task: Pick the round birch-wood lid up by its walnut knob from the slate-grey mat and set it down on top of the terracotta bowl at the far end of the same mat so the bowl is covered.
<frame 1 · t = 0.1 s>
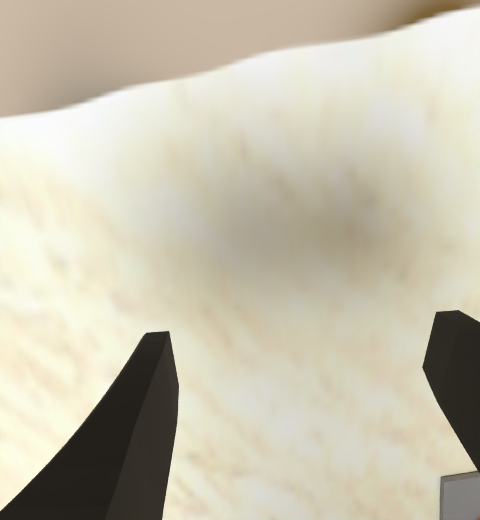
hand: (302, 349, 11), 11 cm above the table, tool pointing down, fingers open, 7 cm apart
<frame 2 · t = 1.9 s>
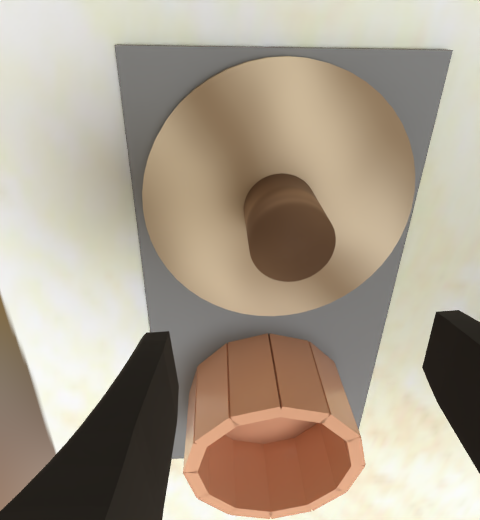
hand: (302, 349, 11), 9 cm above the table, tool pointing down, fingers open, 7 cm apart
bowl: (264, 391, 25), resting on mat
lid: (277, 201, 18), resting on mat
mat: (269, 306, 22), on the table
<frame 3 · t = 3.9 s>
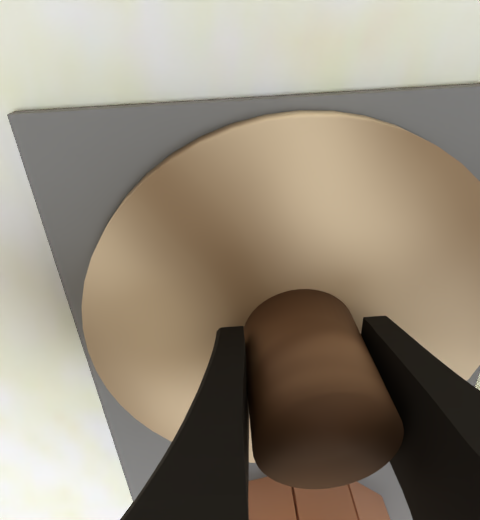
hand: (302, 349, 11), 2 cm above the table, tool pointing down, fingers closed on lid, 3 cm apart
lid: (293, 317, 12), resting on mat, touching gripper
mat: (288, 437, 16), on the table
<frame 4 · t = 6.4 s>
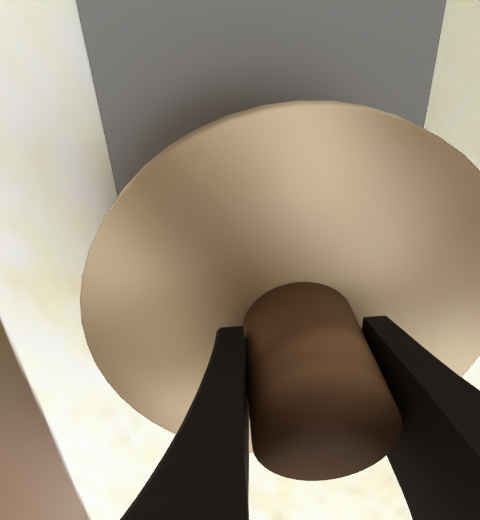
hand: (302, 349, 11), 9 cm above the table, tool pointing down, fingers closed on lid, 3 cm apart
lid: (293, 310, 12), point 7 cm above the table, touching gripper
mat: (264, 69, 15), on the table
when the fingers open (8 cm above the table, at t = 7.3 s): lid drops 1 cm, resting on bowl.
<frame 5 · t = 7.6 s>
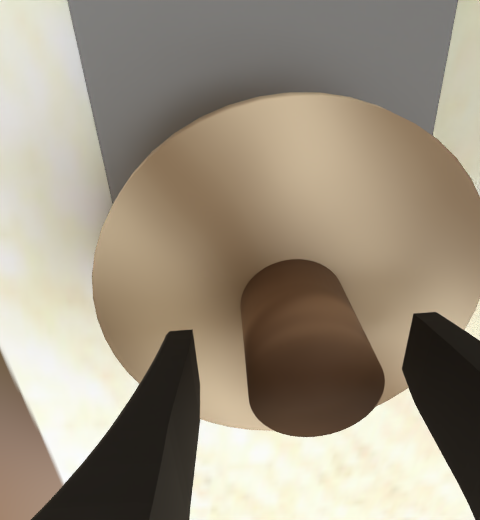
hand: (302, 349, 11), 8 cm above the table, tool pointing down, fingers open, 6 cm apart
lid: (287, 289, 13), point 5 cm above the table, touching bowl
mat: (266, 72, 15), on the table
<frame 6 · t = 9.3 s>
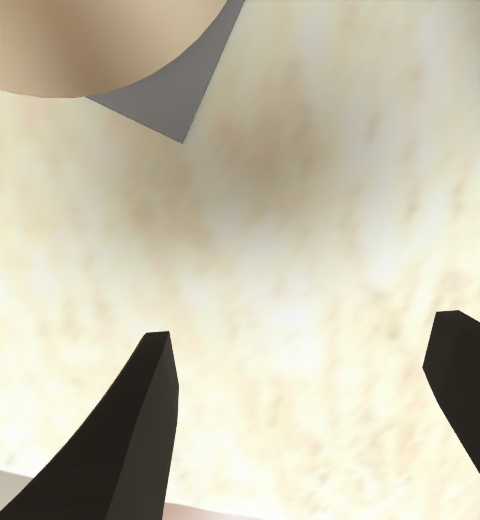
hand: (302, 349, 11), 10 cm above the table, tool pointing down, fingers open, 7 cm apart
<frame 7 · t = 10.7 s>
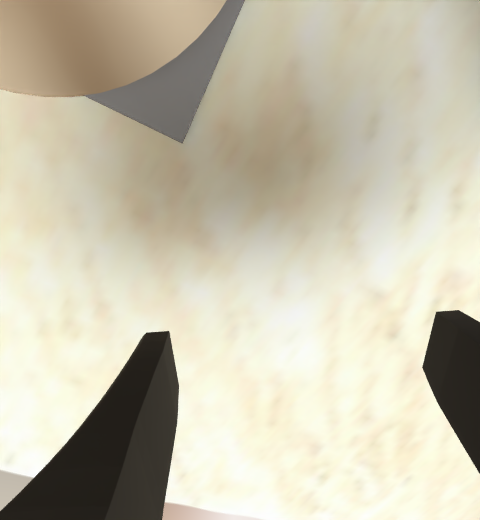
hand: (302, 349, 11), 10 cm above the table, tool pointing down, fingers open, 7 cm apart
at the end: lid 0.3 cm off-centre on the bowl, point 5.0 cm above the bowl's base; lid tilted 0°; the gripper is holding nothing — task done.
